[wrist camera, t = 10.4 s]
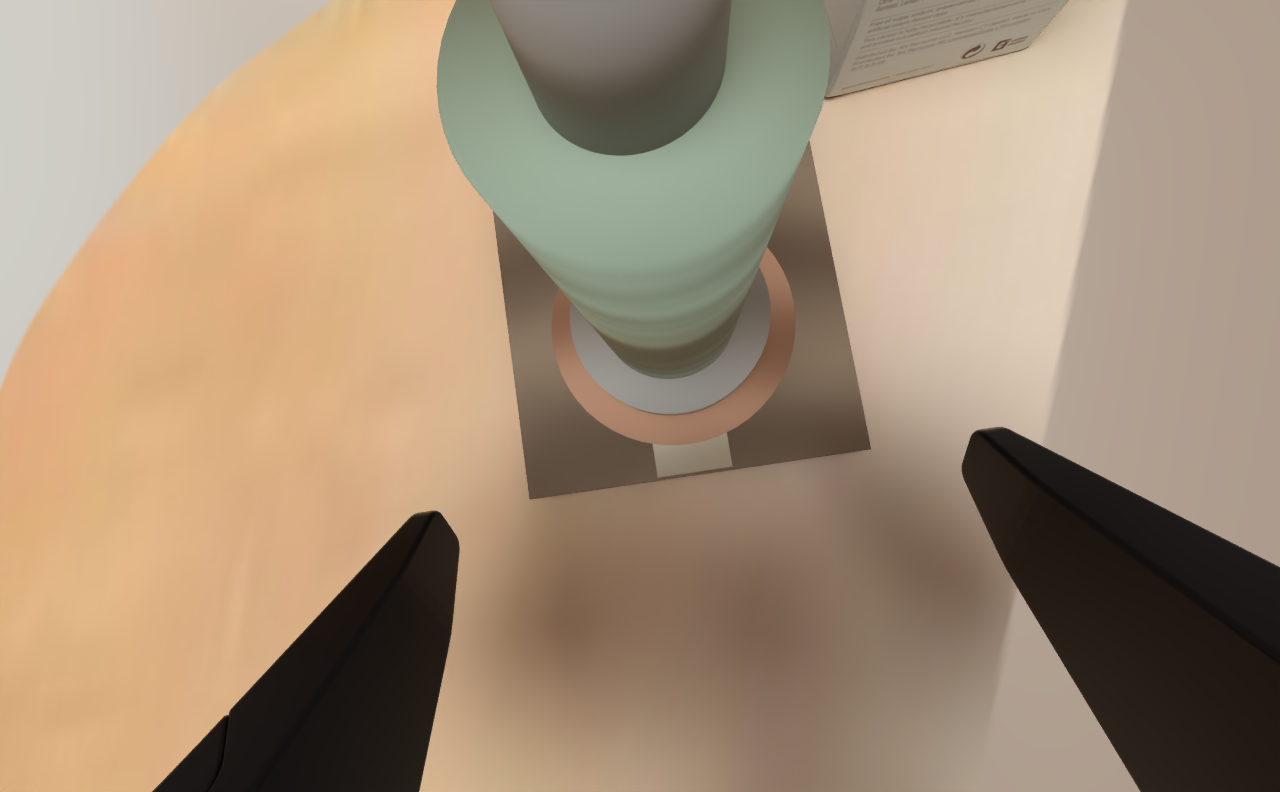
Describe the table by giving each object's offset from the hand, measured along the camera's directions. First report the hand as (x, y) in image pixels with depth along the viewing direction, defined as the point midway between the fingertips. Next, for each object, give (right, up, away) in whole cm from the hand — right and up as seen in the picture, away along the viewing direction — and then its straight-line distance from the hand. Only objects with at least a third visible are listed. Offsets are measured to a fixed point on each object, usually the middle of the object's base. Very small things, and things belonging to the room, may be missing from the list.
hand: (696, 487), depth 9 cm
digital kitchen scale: (0, +6, +9) cm, 11 cm away
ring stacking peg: (0, +4, +8) cm, 9 cm away
